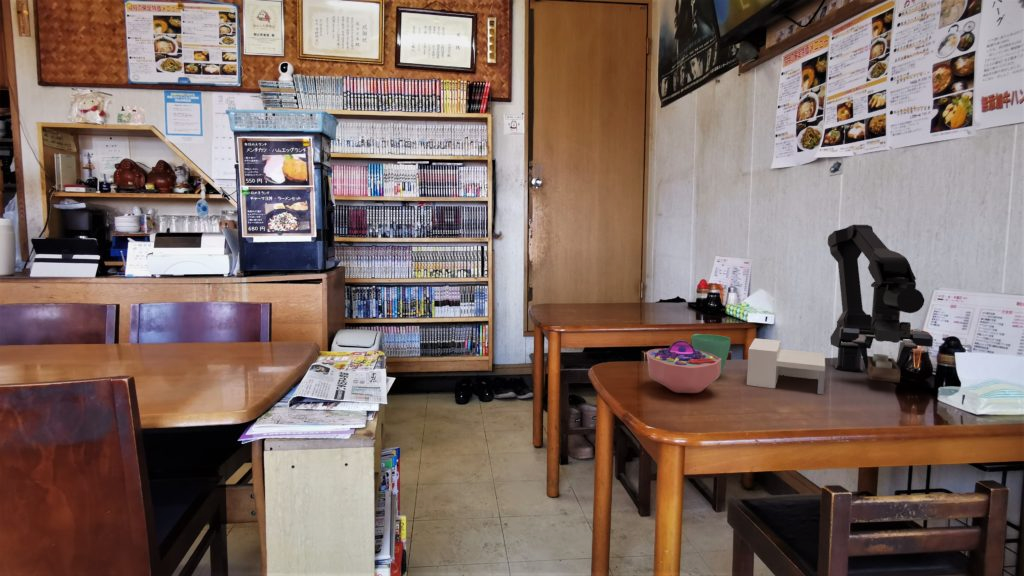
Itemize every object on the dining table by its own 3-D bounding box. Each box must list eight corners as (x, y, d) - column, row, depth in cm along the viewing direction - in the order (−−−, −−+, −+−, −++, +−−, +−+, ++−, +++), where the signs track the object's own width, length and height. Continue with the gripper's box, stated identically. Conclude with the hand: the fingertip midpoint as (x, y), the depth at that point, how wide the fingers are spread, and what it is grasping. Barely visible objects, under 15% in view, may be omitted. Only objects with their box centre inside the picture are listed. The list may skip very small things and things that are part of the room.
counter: (753, 371, 152) (754, 338, 151) (822, 379, 145) (824, 344, 144) (746, 384, 138) (748, 348, 137) (823, 394, 130) (825, 356, 130)
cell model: (641, 398, 126) (643, 348, 125) (647, 377, 145) (649, 333, 144) (722, 406, 121) (724, 354, 120) (717, 383, 140) (719, 338, 139)
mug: (736, 379, 143) (738, 341, 142) (700, 380, 142) (702, 341, 141) (709, 366, 157) (710, 331, 156) (675, 367, 156) (677, 331, 155)
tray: (869, 379, 134) (870, 362, 134) (864, 367, 147) (865, 352, 146) (899, 382, 132) (900, 365, 131) (892, 370, 144) (893, 354, 143)
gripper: (843, 308, 135) (839, 372, 136) (939, 314, 126) (934, 382, 128) (841, 303, 145) (837, 363, 146) (931, 308, 136) (925, 372, 137)
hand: (881, 370), depth 139 cm, fingers closed on tray, 6 cm apart
